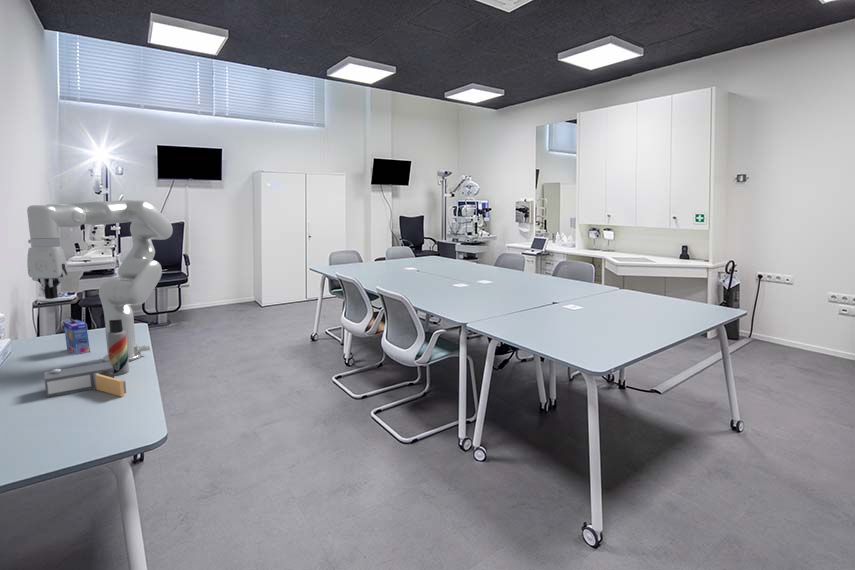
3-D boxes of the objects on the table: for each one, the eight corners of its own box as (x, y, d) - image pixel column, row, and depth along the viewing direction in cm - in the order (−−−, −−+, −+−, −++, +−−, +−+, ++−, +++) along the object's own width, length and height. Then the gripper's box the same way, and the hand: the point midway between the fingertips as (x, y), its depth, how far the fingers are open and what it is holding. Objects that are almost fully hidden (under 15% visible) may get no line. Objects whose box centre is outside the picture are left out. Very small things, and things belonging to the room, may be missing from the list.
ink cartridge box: (65, 350, 194) (62, 316, 191) (81, 347, 198) (78, 314, 196) (74, 355, 188) (71, 320, 186) (90, 351, 192) (87, 317, 190)
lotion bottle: (109, 376, 166) (104, 321, 163) (111, 371, 171) (106, 318, 168) (128, 374, 169) (123, 320, 165) (130, 369, 174) (125, 316, 170)
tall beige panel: (93, 388, 154) (92, 373, 153) (100, 386, 156) (98, 372, 155) (120, 396, 148) (119, 381, 147) (126, 394, 150) (125, 379, 149)
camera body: (111, 377, 165) (110, 359, 163) (115, 386, 157) (113, 366, 156) (46, 389, 153) (43, 369, 152) (46, 398, 146) (44, 378, 145)
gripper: (12, 243, 149) (19, 299, 152) (59, 244, 149) (65, 301, 152) (32, 242, 157) (38, 295, 160) (77, 243, 157) (82, 296, 160)
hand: (51, 298), depth 156 cm, fingers closed
